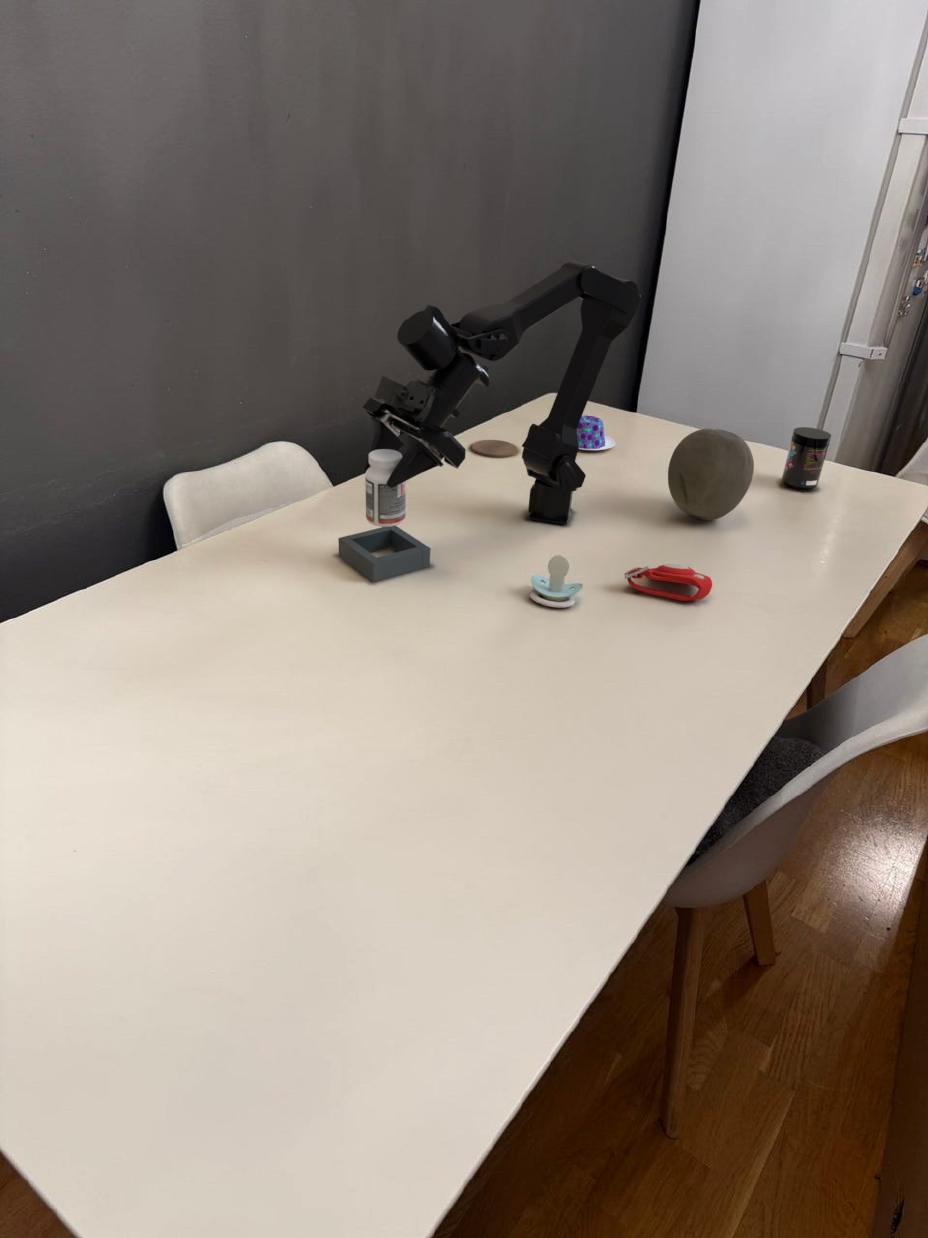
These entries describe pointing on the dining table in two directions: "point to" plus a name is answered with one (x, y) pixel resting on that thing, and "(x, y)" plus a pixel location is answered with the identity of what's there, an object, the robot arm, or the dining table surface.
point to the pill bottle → (384, 490)
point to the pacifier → (555, 585)
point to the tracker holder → (671, 580)
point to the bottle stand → (376, 569)
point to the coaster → (494, 448)
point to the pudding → (592, 434)
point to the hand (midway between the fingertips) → (377, 478)
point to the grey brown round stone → (710, 473)
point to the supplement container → (805, 458)
